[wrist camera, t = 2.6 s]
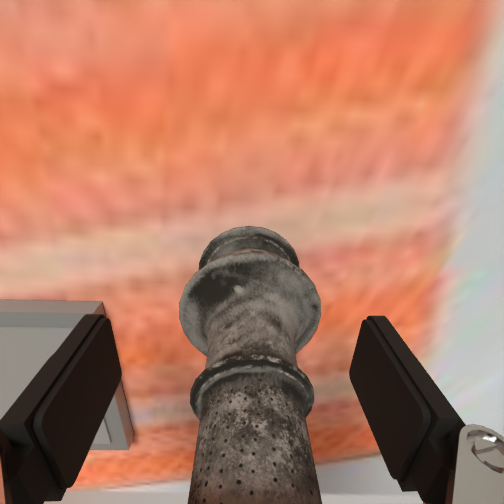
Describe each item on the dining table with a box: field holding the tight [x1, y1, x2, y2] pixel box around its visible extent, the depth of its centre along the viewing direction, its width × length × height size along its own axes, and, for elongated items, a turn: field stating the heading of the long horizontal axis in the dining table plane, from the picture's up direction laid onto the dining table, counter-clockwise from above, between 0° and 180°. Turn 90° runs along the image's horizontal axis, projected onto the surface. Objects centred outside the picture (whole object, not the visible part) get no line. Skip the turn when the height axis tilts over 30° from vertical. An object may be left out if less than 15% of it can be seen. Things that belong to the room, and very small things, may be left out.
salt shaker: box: [179, 226, 322, 504], centre depth 10 cm, size 6×6×12 cm
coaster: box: [0, 300, 134, 450], centre depth 17 cm, size 12×12×1 cm
